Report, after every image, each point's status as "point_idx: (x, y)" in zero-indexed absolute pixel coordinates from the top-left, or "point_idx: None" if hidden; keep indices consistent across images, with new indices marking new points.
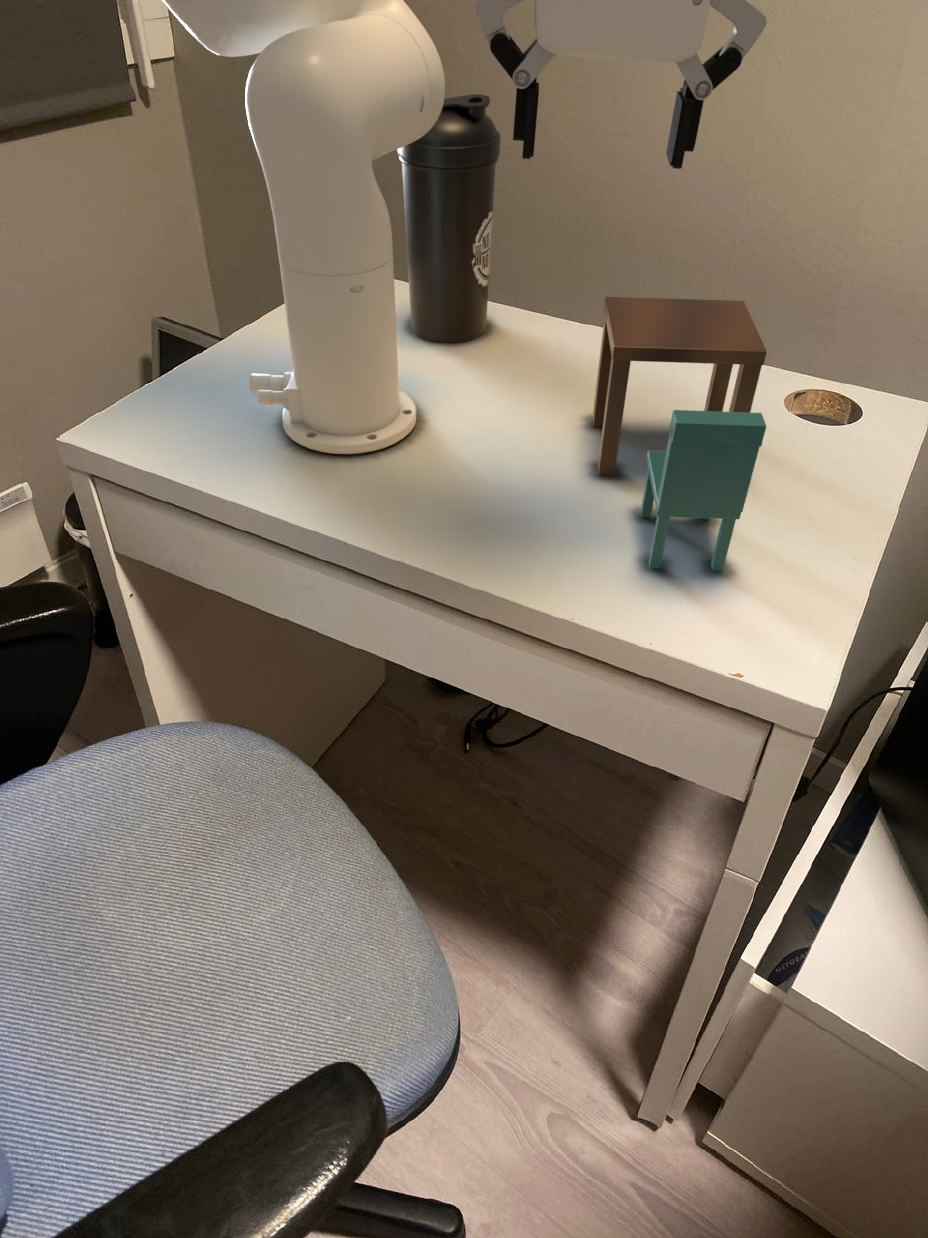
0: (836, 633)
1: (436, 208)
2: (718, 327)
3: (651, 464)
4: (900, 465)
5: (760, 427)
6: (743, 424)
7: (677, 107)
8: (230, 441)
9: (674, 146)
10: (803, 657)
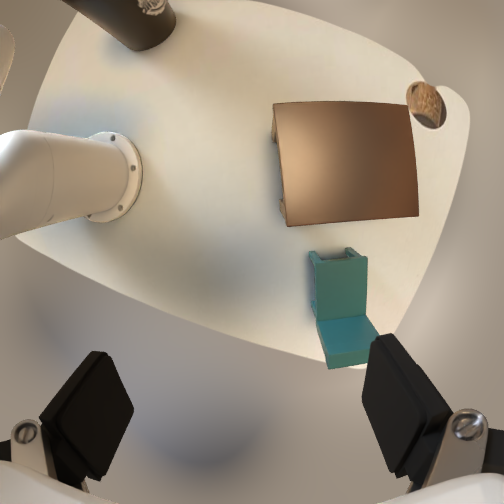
0: None
1: (92, 8)
2: (386, 169)
3: (316, 282)
4: (458, 176)
5: None
6: None
7: (397, 433)
8: None
9: (370, 422)
10: None
